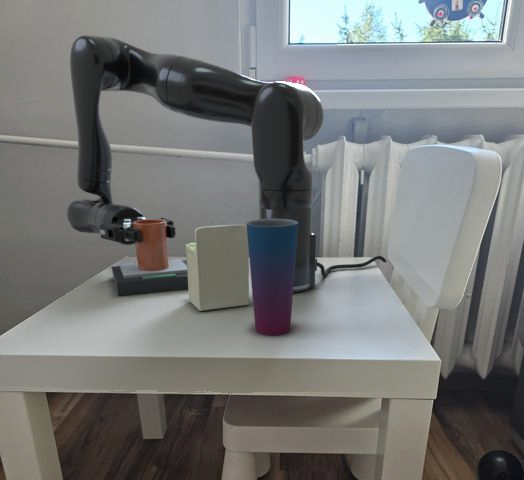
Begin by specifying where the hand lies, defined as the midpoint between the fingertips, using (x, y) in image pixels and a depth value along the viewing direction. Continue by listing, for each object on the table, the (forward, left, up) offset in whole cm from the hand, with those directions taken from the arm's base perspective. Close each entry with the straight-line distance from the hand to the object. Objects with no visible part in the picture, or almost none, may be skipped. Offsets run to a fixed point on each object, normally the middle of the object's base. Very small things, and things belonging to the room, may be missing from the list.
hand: (156, 234), depth 90 cm
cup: (-11, +30, -10) cm, 33 cm away
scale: (+1, -2, -9) cm, 10 cm away
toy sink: (-7, +15, -10) cm, 19 cm away
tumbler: (+1, -2, -6) cm, 7 cm away
